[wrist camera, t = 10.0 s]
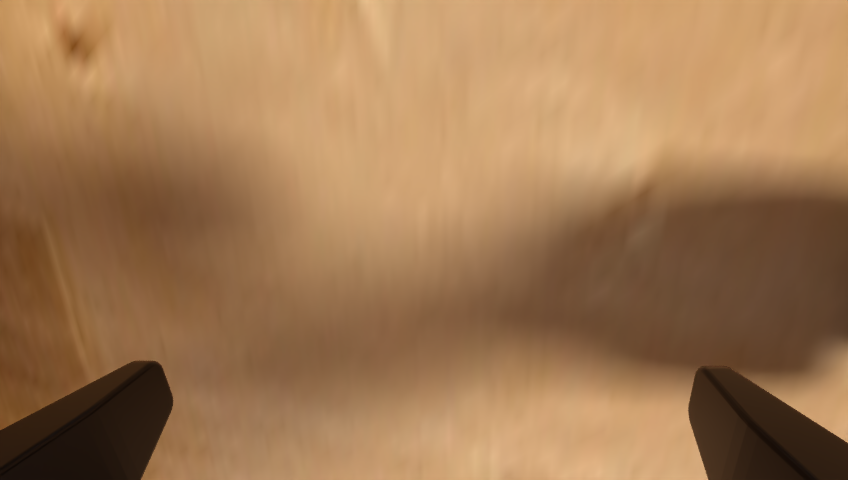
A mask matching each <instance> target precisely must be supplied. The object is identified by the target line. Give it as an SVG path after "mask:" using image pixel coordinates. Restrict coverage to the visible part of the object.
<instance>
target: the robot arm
mask: <svg viewBox="0 0 848 480" xmlns="http://www.w3.org/2000/svg"><path fill="white" fill-rule="evenodd" d="M172 406H173V396H172V393H171V390H170V387H169V384H168V382H167V379H166V376H165V373H164V371H163V368H162V366H161V365H160V364H159V363H158V362H156V361H134V362H131V363H129V364H127V365H125V366H123V367H121V368H119V369H117V370H115V371H113V372H111V373H110V374H108V375H106V376H104V377H102V378H100V379H98V380H96V381H94V382H92V383H90V384H88V385H87V386H85V387H83V388H81V389H79V390H77V391H75V392H73V393H71V394H69V395H67V396H65V397H64V398H62V399H60V400H58V401H56V402H54V403H52V404H50V405H48V406H46V407H44V408H42V409H41V410H39V411H37V412H35V413H33V414H31V415H29V416H27V417H25V418H23V419H21V420H19V421H18V422H16V423H14V424H12V425H10V426H8V427H6V428H4V429H2V430H0V480H141V478H142V476H143V474H144V472H145V469H146V467H147V465H148V463H149V460H150V458H151V456H152V454H153V451H154V449H155V447H156V445H157V442H158V440H159V438H160V435H161V433H162V431H163V429H164V426H165V424H166V422H167V420H168V417H169V415H170V413H171V410H172ZM688 412H689V420H690V423H691V427H692V430H693V433H694V436H695V439H696V442H697V445H698V449H699V452H700V455H701V458H702V461H703V464H704V467H705V470H706V474H707V477H708V480H848V443H847V442H845V441H844V440H842V439H841V438H839V437H838V436H836V435H834V434H833V433H831V432H830V431H828V430H827V429H825V428H823V427H822V426H820V425H819V424H817V423H816V422H814V421H812V420H811V419H809V418H808V417H806V416H805V415H803V414H801V413H800V412H798V411H797V410H795V409H794V408H792V407H790V406H789V405H787V404H786V403H784V402H783V401H781V400H780V399H778V398H776V397H775V396H773V395H772V394H770V393H769V392H767V391H765V390H764V389H762V388H761V387H759V386H758V385H756V384H754V383H753V382H751V381H750V380H748V379H747V378H745V377H743V376H742V375H740V374H739V373H737V372H736V371H734V370H732V369H731V368H729V367H725V366H702V367H700V368H698V370H697V371H696V374H695V378H694V383H693V387H692V392H691V397H690V402H689V408H688Z"/></svg>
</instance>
